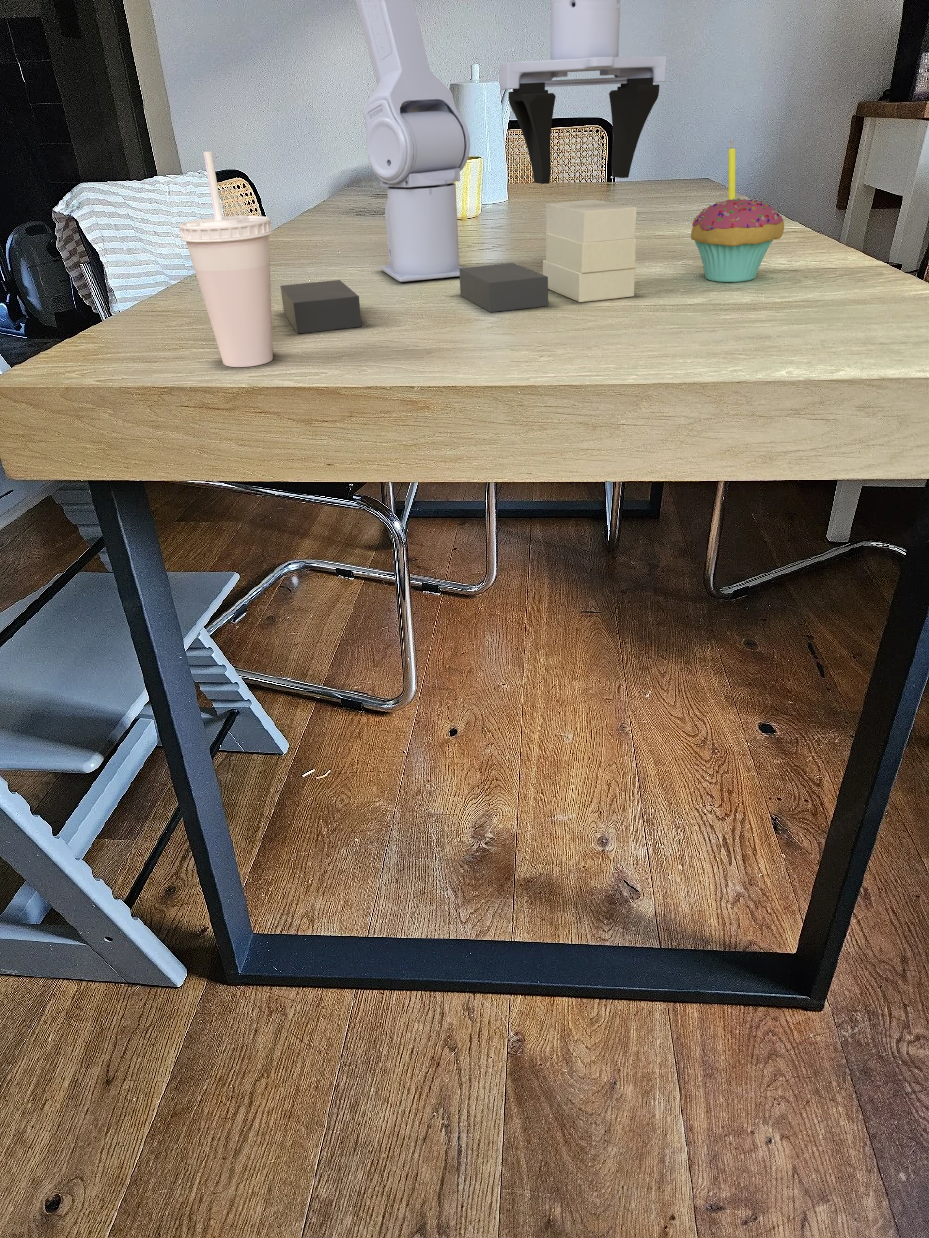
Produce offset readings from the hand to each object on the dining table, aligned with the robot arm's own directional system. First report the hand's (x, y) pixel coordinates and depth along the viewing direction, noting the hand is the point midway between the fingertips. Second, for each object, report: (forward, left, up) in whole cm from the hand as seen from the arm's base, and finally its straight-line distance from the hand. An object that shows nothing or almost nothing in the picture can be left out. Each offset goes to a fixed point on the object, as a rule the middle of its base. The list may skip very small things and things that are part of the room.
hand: (581, 180), depth 80 cm
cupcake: (+1, +16, -10) cm, 19 cm away
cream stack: (0, +1, -10) cm, 10 cm away
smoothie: (+12, -32, -10) cm, 36 cm away
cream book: (0, +1, -5) cm, 5 cm away
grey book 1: (0, -25, -10) cm, 27 cm away
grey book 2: (0, -8, -10) cm, 12 cm away
